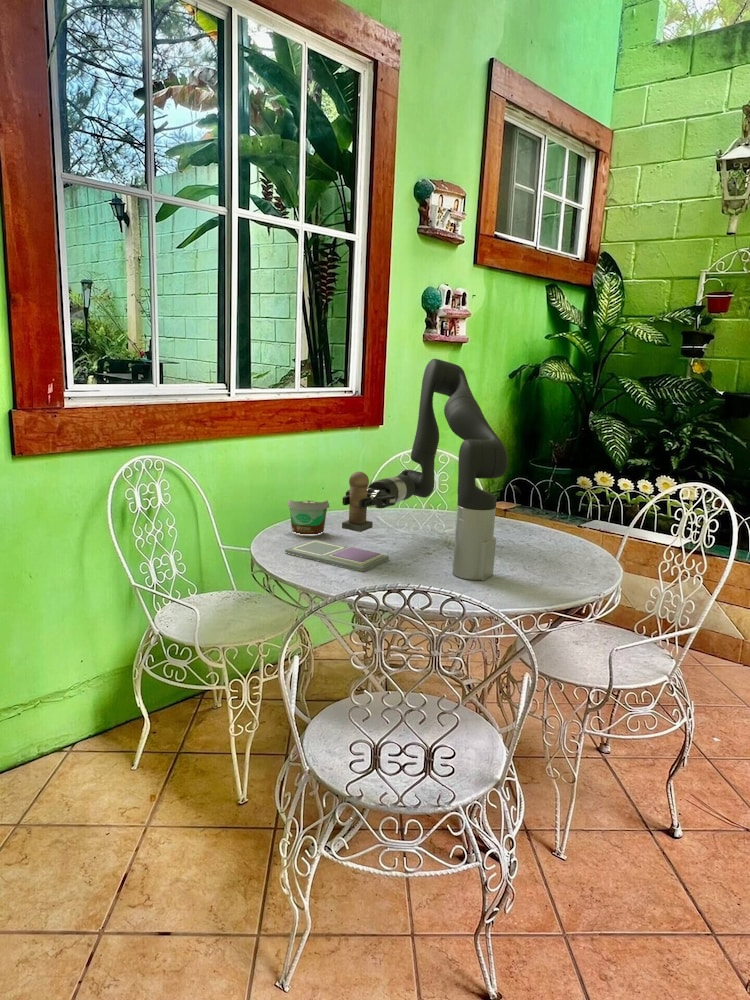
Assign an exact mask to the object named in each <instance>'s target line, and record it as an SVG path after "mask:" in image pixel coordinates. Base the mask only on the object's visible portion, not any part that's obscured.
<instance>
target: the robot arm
mask: <svg viewBox="0 0 750 1000" xmlns="http://www.w3.org/2000/svg"><path fill="white" fill-rule="evenodd" d="M422 376H423V377H422V381H421V388H420V399H419V407H418V408H419V409H418V417H417V425H416V431H415V435H414V436H415V437H414V440H413V444H412V448H411V453H410V459H411V461H413V462H414V463H416V464H418V465H420V468H421V471H417V470H413V469H404V470H401V472H400V473H399V474H398V475H397V476H389V477H385V478H382V479H378V480H375V481H373V482H371V483H369V485H368V490H367V498H364V499H361V500H360V501H359V508H362V509H363V508H366V507H367V508H369V507H370V508H376V509H385V508H387V507H391V506H395V505H397V504H399V503H400V502H403V501H406V500H408V499H410V498H411V497H412V496H416V497H420V498H428V497H430V496H431V494H432V493H433V492H434V489H435V485H436V484H435V460H436V455H437V451H438V446H439V441H440V430H439V425H438V422H437V418H436V414H435V411H434V395H435V394H434V393H436V394H441V395H444V396H446V397H449V398H448V399H447V400H446V402H445V404H444V410H443V413H444V417H445V420H446V422H447V425H448V426H449V429H450V430H451V432H453V433H454V435H455V436H457V437H458V438H460V439H462V440H463V441H462V443H461V444H460V447H459V451H458V460H457V461H458V464H457V465H458V469H457V470H458V474H457V477H458V478H457V504H456V507H457V508H456V520H455V530H454V531H455V532H454V533H455V534H454V542H453V543H454V544H453V545H454V546H453V547H454V548H453V555H452V556H453V559H452V571H451V572H452V574H453V576H456V577H457V578H459V579H460V578H461V579H466V580H472V581H473V580H475V581H485V580H487V579H489V578H491V576H493V575H494V568H495V558H496V557H495V556H496V545H497V544H496V543H497V538H496V537H495V536H494V534H495V521H496V512H497V511H496V509H497V496H496V495H495V494H493V493H492V492H488V491H487V490H483V489H481V488H479V487H478V486H477V485H476V479H489V480H491V479H498V478H501V477H503V476H504V475H505V474H506V472H507V469H508V466H509V457H508V452H507V449H506V447H505V444H504V443H503V442H502V440H501V438H500V437H499V436H498V435H497V434H496V433H495V431H494V429H493V428H492V427H491V426H490V424H489V422H488V421H487V419H486V418H485V415H484V414H483V411H482V409H481V406H480V405H479V403H478V401H477V400H476V399H475V397H474V395H473V394H474V393H472V390H471V387H470V385H469V383H468V379H467V375H466V373H465V370H464V369H463V368H462V367H461V366H460V365H458V364H456V363H452V362H450V361H449V362H448V361H445V360H442V359H438V358H432V359H430V361H428V363H427V364H426V365H425V369H424V372H423V375H422ZM349 502H350V489H348V490H347V491H345V495H344V496H342V502H341V503H342V506H348V505H349Z"/></svg>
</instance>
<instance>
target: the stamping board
mask: <svg viewBox="0 0 750 1000" xmlns="http://www.w3.org/2000/svg"><path fill="white" fill-rule="evenodd" d="M285 552H287V553H290V554H294V555H298V556H297V557H299V556H302V557H301V558H303V557H306V558H305V559H307V558H310V559H309V560H311V559H314V560H313V561H315V560H319V561H322V562H321V563H323V562H326V563H325V564H327V563H330V564H329V565H332V564H334V565H333V566H336V565H338V566H337V567H340V566H342V567H341V568H344V567H346V568H345V569H348V568H349V570H352V569H353V570H354V571H357V572H364V571H367V570H369V569H371V568H374V567H376V566H377V565H380V564H382V563H385V562H387V561H389V560H390V555H387V554H383V553H380V552H376V551H370V550H367V549H366V550H365V549H362V548H357V547H353V546H346V545H342V544H338V543H333V542H328V541H325V540H319V539H312V540H309V541H307V542H306V541H305V542H304V543H300V544H297V545H295V546H292V547H290V548H289V547H288V548H286V549H284V553H285ZM290 554H289V555H290ZM294 555H293V556H294ZM319 561H318V562H319ZM353 570H352V571H353Z"/></svg>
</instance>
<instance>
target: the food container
mask: <svg viewBox="0 0 750 1000" xmlns="http://www.w3.org/2000/svg"><path fill="white" fill-rule="evenodd" d="M288 499H289V500H288V501H287V505H286V506H287V507H288V508H289V512H290V513H289V515H290V525H291V526H290V527H291V532H292V531H293V532H296V533H300V534H318V533H321V532H323V531H324V530H325V526H326V525H325V524H326V518H327V512H328V511H327V509H328V508H329V509H330V503H329V502H330V501H329V499H327V500H326V501H322V502H320V501H314V500H303V501H294V500H292V499H290V498H288ZM324 532H325V531H324Z"/></svg>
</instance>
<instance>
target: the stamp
mask: <svg viewBox="0 0 750 1000" xmlns="http://www.w3.org/2000/svg"><path fill="white" fill-rule="evenodd" d="M348 483H349V490H350V502H349V507H348V509H349V510H348V520H346V521H343V522H341V529H344V530H349V531H353V532H358V533H362V532H364V531H367V530H369V529H373V526H374V525H373V521H370V520H367V511H368V510H367V508H368V507H366V508H363V509H362V508H359V501H360V500H361V499H364V498H367V490H368V487H369V486H370V479H369V477H368V475H367V474H366V473H365V472H363V471H356V472H354V473H352V474H351V476H349V479H348Z"/></svg>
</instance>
